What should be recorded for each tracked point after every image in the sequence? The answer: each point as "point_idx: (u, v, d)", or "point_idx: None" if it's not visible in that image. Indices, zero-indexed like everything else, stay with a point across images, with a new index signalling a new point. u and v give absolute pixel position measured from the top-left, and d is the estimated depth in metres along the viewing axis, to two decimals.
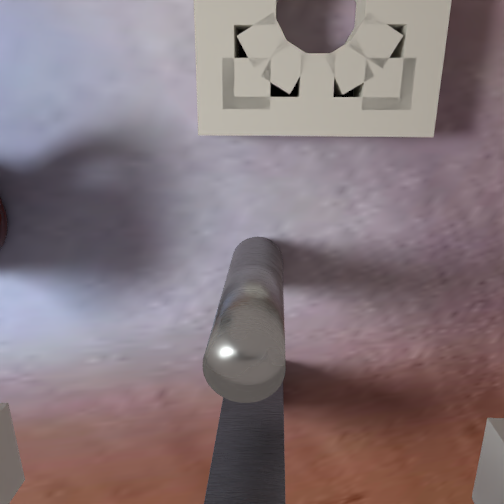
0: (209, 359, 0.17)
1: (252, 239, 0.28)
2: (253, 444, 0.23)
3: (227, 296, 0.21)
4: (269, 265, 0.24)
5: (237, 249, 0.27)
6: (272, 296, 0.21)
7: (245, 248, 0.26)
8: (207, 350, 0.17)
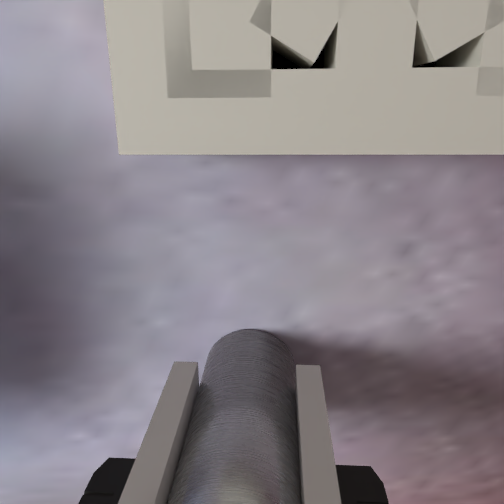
0: None
1: (241, 337, 0.15)
2: None
3: None
4: (271, 418, 0.12)
5: (213, 356, 0.15)
6: None
7: (226, 362, 0.14)
8: None
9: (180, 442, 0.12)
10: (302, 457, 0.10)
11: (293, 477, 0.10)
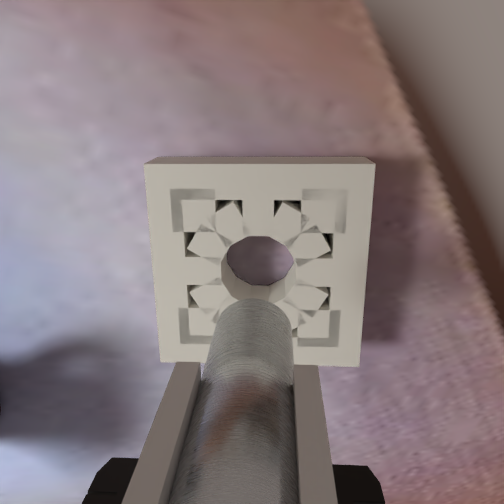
0: None
1: (245, 304, 0.18)
2: None
3: (191, 457, 0.11)
4: (272, 363, 0.14)
5: (221, 320, 0.17)
6: (279, 455, 0.11)
7: (233, 323, 0.16)
8: None
9: (183, 442, 0.12)
10: (299, 457, 0.10)
11: (290, 405, 0.13)
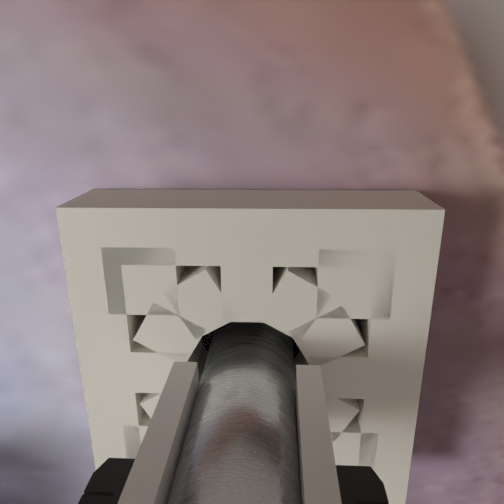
0: None
1: None
2: None
3: (191, 457, 0.11)
4: (272, 362, 0.14)
5: None
6: (278, 454, 0.11)
7: (233, 322, 0.16)
8: None
9: (180, 442, 0.12)
10: (302, 457, 0.10)
11: (289, 405, 0.13)
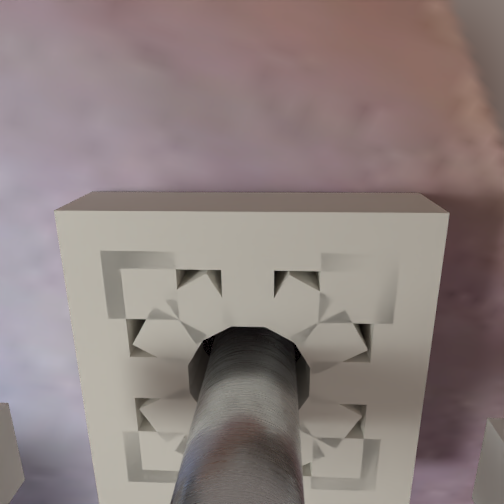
0: None
1: None
2: None
3: (192, 469, 0.10)
4: (274, 370, 0.14)
5: None
6: (281, 467, 0.10)
7: (234, 328, 0.16)
8: None
9: None
10: None
11: (292, 414, 0.13)
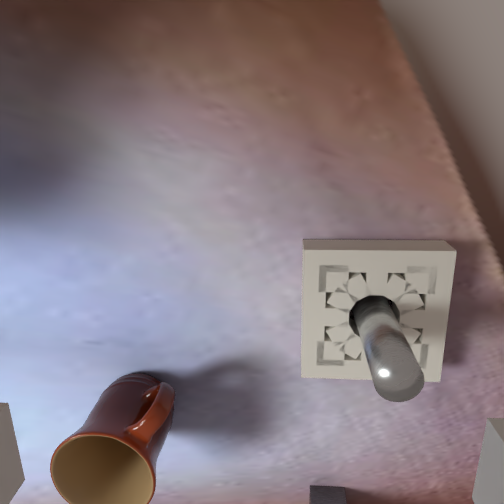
0: (378, 375, 0.29)
1: None
2: None
3: (373, 335, 0.32)
4: (389, 311, 0.36)
5: None
6: (402, 334, 0.32)
7: (366, 297, 0.38)
8: (377, 370, 0.29)
9: None
10: None
11: None
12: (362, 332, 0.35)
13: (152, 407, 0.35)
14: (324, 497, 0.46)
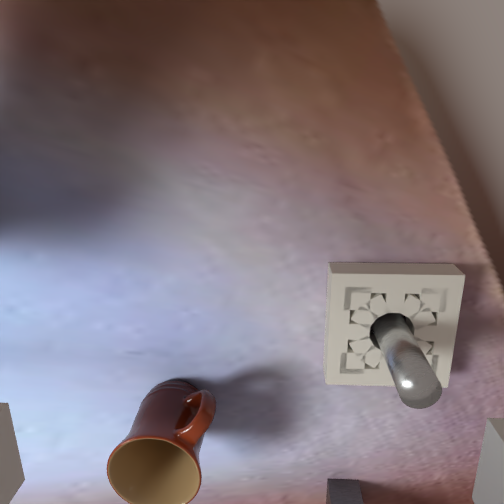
0: (403, 387, 0.34)
1: None
2: None
3: (395, 350, 0.38)
4: (406, 327, 0.41)
5: None
6: (420, 349, 0.38)
7: (384, 314, 0.43)
8: (403, 382, 0.34)
9: None
10: None
11: (415, 340, 0.40)
12: (384, 346, 0.40)
13: (199, 413, 0.40)
14: (341, 489, 0.51)
